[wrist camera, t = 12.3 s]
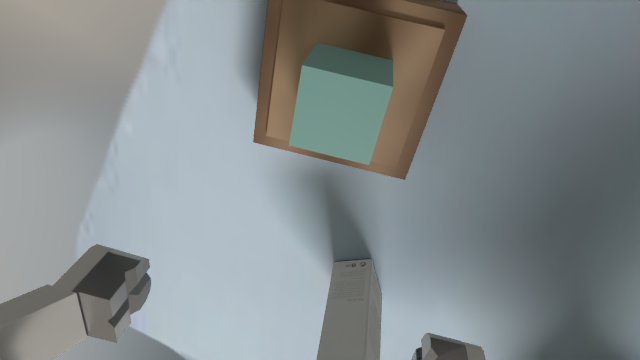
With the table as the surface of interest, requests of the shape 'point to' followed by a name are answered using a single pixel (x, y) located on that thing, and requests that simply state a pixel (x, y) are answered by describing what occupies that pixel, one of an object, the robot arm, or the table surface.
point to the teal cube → (341, 103)
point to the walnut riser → (368, 38)
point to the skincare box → (352, 313)
